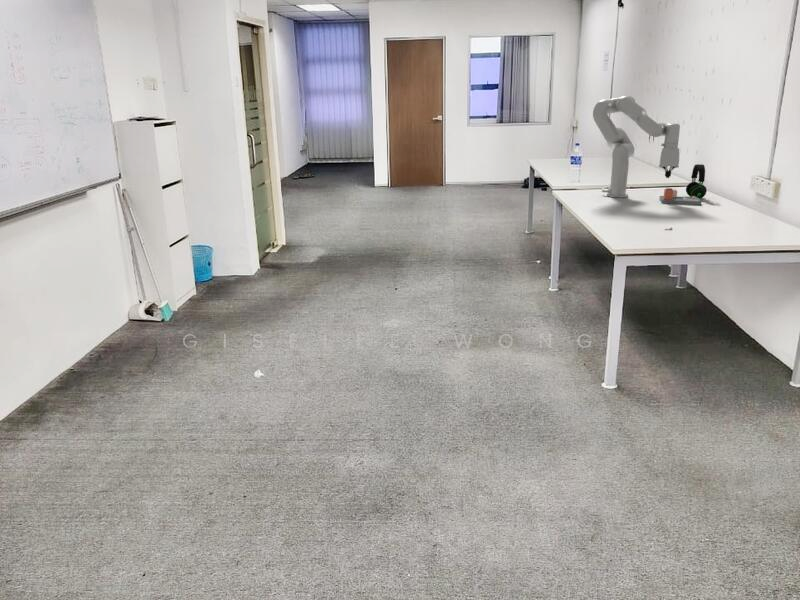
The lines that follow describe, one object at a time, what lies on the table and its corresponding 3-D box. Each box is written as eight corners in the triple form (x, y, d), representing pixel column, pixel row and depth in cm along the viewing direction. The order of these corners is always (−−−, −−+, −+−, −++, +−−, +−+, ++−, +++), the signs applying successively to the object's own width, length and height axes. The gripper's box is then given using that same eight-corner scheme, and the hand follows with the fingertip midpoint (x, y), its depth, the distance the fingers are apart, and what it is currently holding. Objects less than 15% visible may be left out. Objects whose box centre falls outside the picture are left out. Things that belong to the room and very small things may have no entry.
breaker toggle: (672, 197, 373) (673, 190, 372) (671, 196, 377) (672, 189, 376) (676, 197, 373) (677, 190, 371) (675, 196, 376) (676, 189, 375)
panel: (661, 203, 368) (662, 197, 367) (659, 199, 381) (660, 193, 380) (700, 205, 362) (701, 199, 361) (697, 200, 375) (698, 195, 374)
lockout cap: (663, 199, 369) (665, 188, 367) (663, 198, 373) (664, 187, 371) (672, 199, 367) (673, 189, 365) (671, 198, 372) (672, 188, 370)
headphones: (690, 200, 378) (695, 166, 371) (683, 195, 392) (687, 162, 386) (707, 200, 377) (712, 166, 370) (699, 195, 391) (703, 163, 385)
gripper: (657, 146, 365) (654, 178, 371) (685, 146, 361) (682, 178, 367) (656, 145, 372) (653, 176, 378) (684, 145, 368) (680, 177, 374)
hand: (667, 177), depth 372 cm, fingers closed
